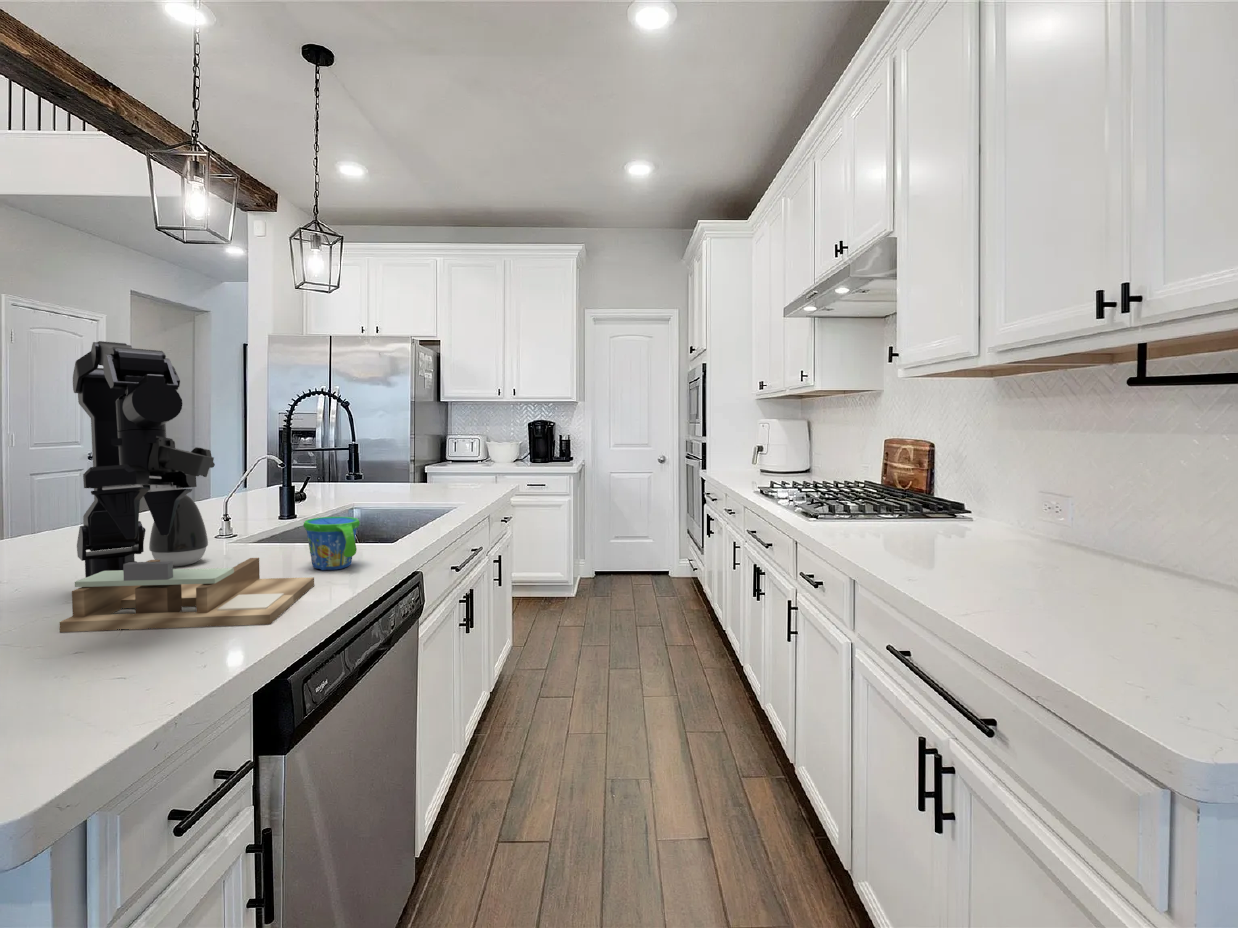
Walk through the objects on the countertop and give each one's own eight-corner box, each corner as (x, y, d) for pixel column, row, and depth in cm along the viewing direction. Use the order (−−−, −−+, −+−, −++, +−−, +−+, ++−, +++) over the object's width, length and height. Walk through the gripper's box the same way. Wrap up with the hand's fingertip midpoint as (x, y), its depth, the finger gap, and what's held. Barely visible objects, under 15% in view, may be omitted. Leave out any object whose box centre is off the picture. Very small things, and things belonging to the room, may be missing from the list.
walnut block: (135, 620, 95) (135, 588, 95) (151, 611, 100) (150, 581, 99) (167, 619, 96) (167, 587, 96) (181, 610, 100) (181, 580, 100)
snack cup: (372, 569, 130) (372, 522, 129) (320, 578, 122) (319, 527, 122) (342, 557, 141) (342, 513, 140) (293, 564, 133) (292, 517, 133)
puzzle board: (59, 632, 89) (58, 594, 89) (148, 589, 112) (147, 559, 111) (270, 624, 94) (269, 588, 94) (314, 585, 117) (313, 556, 117)
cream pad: (217, 610, 96) (217, 608, 96) (238, 596, 104) (238, 594, 103) (266, 609, 97) (266, 607, 97) (283, 595, 105) (283, 593, 105)
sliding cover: (74, 587, 92) (73, 565, 92) (104, 575, 99) (103, 555, 99) (214, 583, 96) (214, 562, 96) (233, 572, 103) (233, 553, 102)
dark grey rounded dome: (144, 571, 124) (142, 497, 123) (155, 560, 134) (153, 491, 133) (204, 567, 129) (203, 495, 128) (211, 557, 138) (209, 490, 137)
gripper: (171, 420, 84) (179, 534, 83) (228, 434, 102) (234, 528, 102) (77, 426, 82) (84, 543, 81) (152, 439, 100) (158, 535, 99)
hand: (149, 536), depth 91 cm, fingers open, 9 cm apart
